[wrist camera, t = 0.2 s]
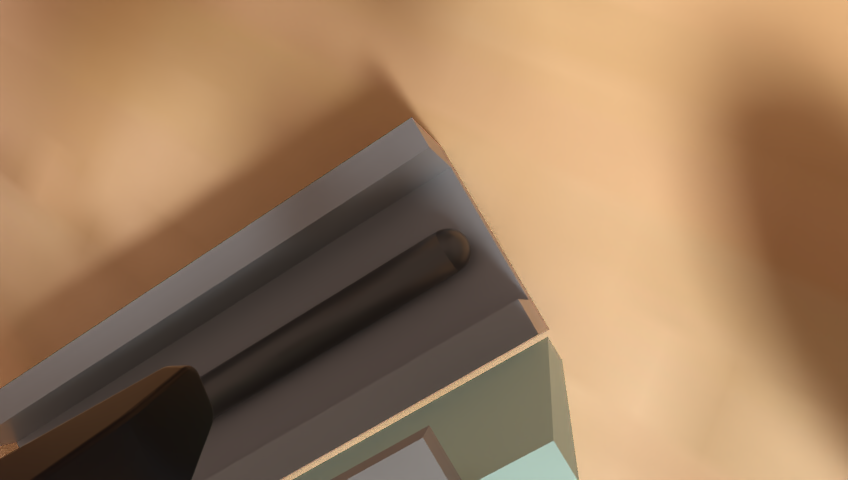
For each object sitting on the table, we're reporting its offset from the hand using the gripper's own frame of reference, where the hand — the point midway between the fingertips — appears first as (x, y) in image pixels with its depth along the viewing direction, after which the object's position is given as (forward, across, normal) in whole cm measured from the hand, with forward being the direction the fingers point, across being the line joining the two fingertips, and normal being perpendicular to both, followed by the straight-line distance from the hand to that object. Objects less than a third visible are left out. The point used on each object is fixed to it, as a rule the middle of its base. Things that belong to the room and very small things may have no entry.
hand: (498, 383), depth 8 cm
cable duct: (+12, +12, +9) cm, 19 cm away
